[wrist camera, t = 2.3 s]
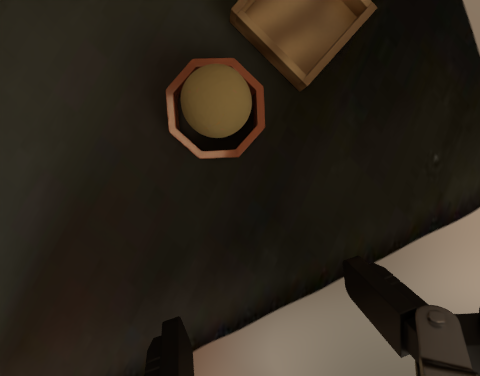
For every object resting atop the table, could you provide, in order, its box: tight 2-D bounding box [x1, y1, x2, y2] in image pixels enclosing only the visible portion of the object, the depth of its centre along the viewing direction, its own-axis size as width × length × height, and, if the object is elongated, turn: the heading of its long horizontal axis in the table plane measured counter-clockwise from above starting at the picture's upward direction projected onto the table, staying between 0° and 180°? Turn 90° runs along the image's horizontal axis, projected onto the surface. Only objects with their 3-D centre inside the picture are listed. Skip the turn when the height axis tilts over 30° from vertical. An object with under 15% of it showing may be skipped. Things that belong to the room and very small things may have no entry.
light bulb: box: [180, 64, 252, 138], centre depth 27 cm, size 6×6×10 cm
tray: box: [229, 0, 377, 92], centre depth 31 cm, size 11×11×3 cm
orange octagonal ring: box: [166, 58, 265, 159], centre depth 31 cm, size 10×10×3 cm
